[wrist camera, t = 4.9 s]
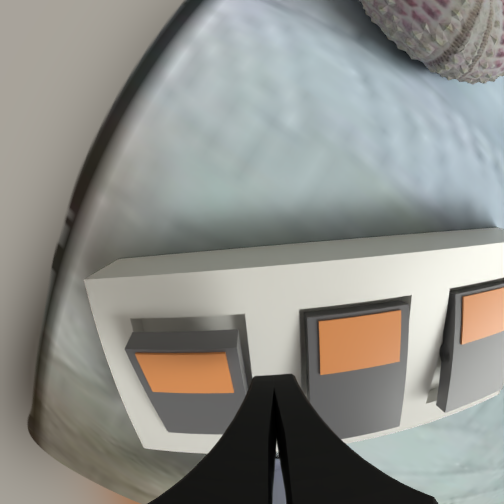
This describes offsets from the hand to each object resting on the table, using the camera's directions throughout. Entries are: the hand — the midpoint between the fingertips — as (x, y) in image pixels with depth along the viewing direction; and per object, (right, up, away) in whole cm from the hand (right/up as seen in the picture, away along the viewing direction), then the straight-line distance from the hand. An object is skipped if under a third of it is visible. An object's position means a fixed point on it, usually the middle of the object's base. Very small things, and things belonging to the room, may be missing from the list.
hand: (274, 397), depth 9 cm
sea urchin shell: (+11, +22, +4) cm, 25 cm away
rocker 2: (+12, -1, +4) cm, 13 cm away
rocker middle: (+4, -1, +4) cm, 6 cm away
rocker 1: (-4, -2, +5) cm, 6 cm away
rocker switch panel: (+5, 0, +9) cm, 10 cm away
